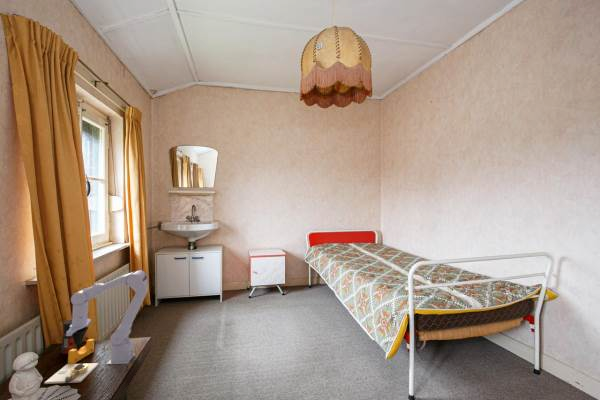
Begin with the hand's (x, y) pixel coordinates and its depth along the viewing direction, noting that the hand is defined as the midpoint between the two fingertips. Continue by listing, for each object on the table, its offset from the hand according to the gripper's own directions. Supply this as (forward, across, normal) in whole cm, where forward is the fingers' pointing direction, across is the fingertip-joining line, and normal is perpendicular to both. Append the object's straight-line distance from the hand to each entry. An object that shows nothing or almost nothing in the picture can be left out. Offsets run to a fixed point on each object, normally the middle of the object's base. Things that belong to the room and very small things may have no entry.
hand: (78, 344), depth 129 cm
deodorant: (+10, -13, -12) cm, 20 cm away
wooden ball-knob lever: (+8, +11, +6) cm, 15 cm away
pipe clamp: (+10, -6, -2) cm, 12 cm away
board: (+9, +8, +4) cm, 13 cm away
